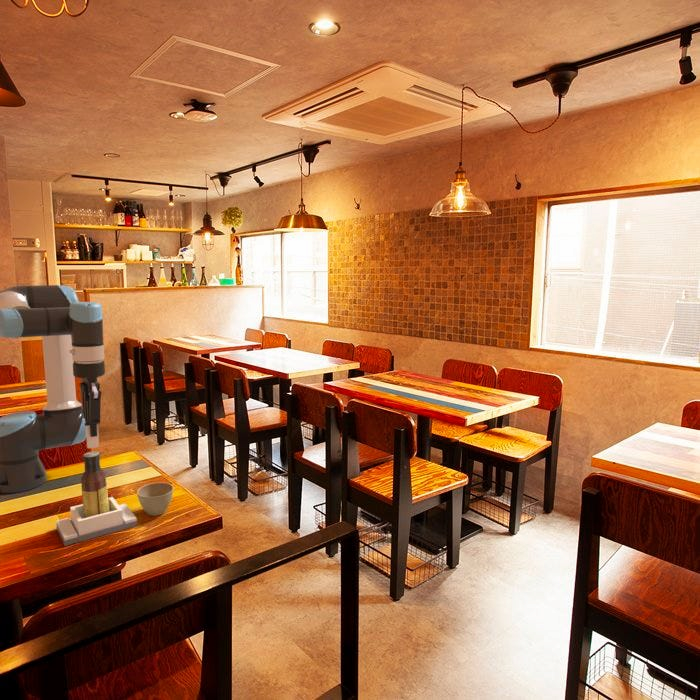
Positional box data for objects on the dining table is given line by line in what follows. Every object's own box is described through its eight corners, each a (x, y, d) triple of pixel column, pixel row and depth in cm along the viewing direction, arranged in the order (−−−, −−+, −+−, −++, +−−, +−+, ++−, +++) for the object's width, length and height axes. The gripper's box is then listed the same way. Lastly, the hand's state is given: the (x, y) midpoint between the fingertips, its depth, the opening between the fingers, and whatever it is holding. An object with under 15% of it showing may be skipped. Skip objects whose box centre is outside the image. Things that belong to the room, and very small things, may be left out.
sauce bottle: (107, 514, 147) (104, 447, 144) (111, 523, 142) (108, 454, 139) (81, 520, 143) (77, 452, 140) (85, 529, 138) (81, 459, 135)
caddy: (56, 528, 141) (55, 509, 140) (125, 510, 152) (124, 493, 151) (64, 546, 133) (63, 526, 132) (137, 525, 144) (136, 507, 143)
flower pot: (139, 506, 155) (138, 484, 154) (174, 502, 158) (173, 480, 157) (136, 522, 146) (135, 498, 145) (173, 518, 149) (173, 494, 148)
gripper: (67, 358, 138) (72, 442, 141) (78, 366, 128) (83, 456, 131) (97, 356, 142) (101, 437, 146) (110, 363, 132) (114, 451, 136)
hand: (93, 446), depth 139 cm, fingers closed
